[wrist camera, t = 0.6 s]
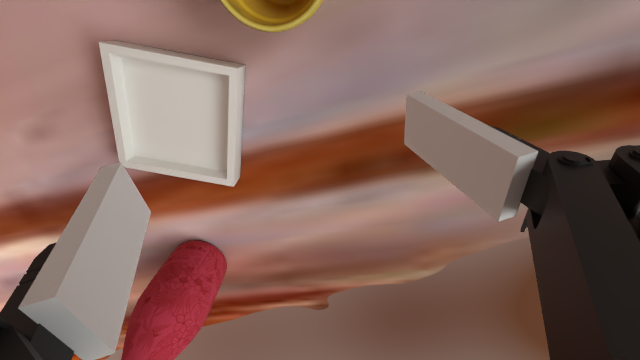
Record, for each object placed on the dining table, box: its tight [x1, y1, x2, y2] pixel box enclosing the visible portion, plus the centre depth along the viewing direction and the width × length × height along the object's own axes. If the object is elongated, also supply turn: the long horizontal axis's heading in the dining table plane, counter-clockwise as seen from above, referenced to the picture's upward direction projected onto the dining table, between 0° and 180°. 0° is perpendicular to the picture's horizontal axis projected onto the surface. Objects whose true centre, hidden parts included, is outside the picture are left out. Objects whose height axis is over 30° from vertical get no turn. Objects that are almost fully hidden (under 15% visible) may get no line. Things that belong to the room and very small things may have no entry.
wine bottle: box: [121, 241, 227, 360], centre depth 40 cm, size 10×10×30 cm
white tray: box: [99, 41, 245, 187], centre depth 39 cm, size 16×16×3 cm
